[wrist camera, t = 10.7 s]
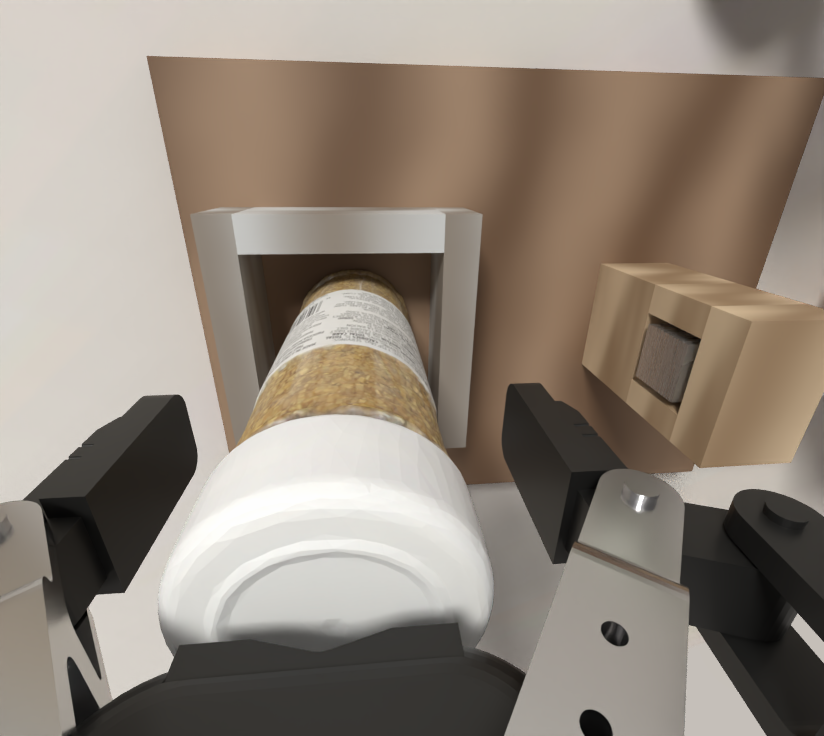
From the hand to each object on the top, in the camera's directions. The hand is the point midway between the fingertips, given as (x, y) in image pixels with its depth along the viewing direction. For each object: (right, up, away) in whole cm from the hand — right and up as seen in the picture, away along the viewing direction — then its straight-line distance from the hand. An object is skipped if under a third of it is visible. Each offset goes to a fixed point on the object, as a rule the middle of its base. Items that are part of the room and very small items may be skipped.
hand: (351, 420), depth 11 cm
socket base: (+5, +4, +9) cm, 11 cm away
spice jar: (-1, +3, +7) cm, 8 cm away
